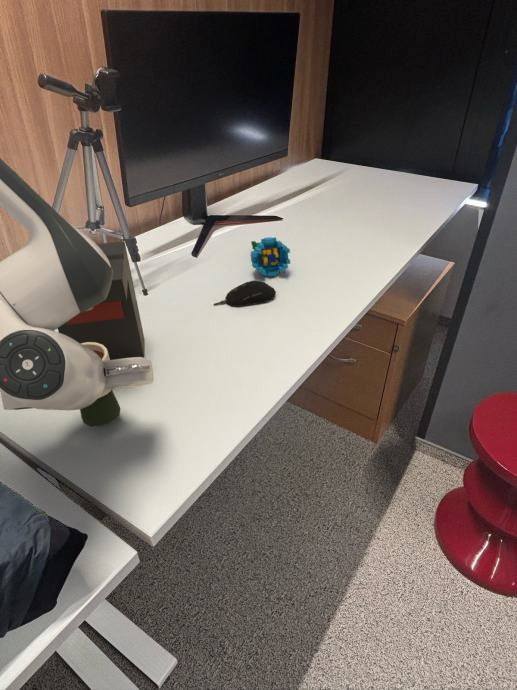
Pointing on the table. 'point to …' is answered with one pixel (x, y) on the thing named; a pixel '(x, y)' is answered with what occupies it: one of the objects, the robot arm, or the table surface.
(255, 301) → the gaming mouse
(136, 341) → the dark brown box
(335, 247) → the table surface
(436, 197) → the table surface
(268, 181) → the table surface
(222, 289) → the table surface
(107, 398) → the character mug
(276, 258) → the toy flower
